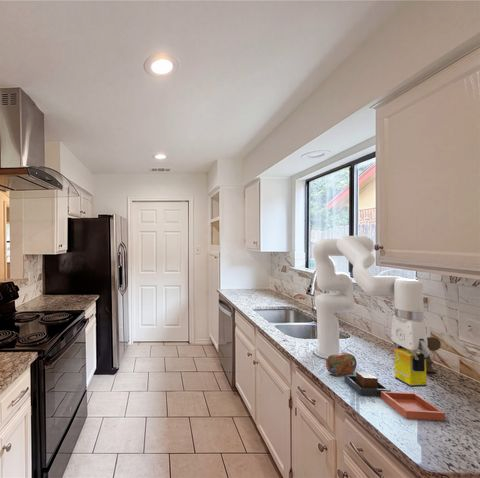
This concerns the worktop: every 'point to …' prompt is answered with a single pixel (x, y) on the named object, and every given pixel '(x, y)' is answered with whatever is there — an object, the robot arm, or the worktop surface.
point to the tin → (341, 364)
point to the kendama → (433, 346)
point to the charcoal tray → (365, 391)
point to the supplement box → (408, 369)
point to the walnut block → (366, 380)
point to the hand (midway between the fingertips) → (409, 365)
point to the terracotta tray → (412, 406)
